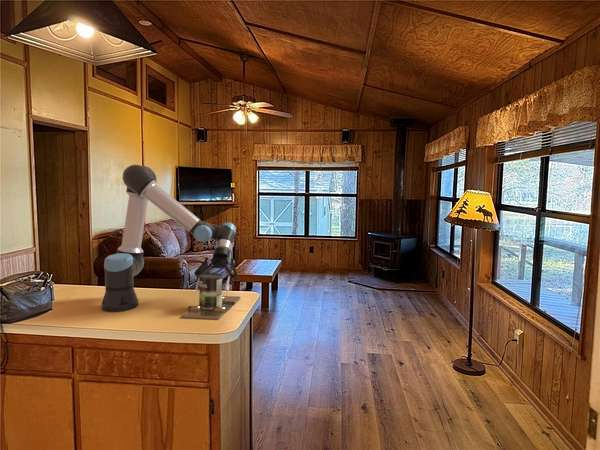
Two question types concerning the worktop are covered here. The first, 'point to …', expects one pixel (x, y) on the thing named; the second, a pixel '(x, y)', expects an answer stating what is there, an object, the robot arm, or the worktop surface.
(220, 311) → the hinge leaves
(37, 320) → the worktop surface
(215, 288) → the coffee can
